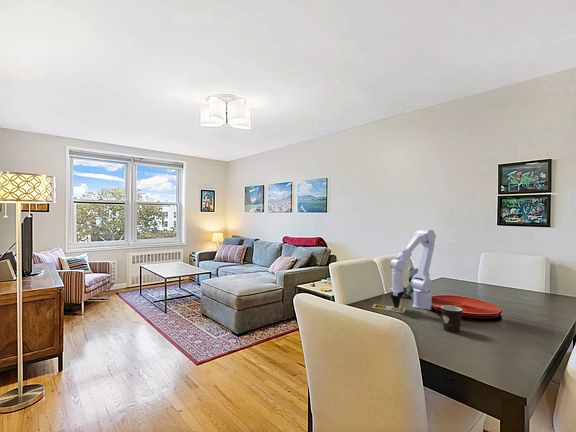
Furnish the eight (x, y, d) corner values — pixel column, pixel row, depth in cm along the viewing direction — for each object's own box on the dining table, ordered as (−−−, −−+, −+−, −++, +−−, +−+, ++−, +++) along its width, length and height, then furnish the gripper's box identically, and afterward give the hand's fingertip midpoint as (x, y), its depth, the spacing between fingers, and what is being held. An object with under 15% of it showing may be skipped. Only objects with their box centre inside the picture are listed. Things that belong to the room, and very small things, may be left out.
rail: (405, 309, 168) (405, 308, 168) (404, 313, 162) (404, 311, 162) (374, 305, 176) (374, 303, 176) (371, 308, 170) (371, 306, 170)
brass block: (401, 309, 168) (401, 297, 168) (400, 311, 164) (400, 298, 164) (394, 308, 170) (394, 296, 169) (392, 310, 166) (392, 297, 166)
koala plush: (395, 296, 196) (395, 265, 196) (415, 293, 203) (416, 264, 203) (417, 303, 180) (417, 270, 180) (438, 300, 188) (438, 268, 188)
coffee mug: (466, 333, 134) (466, 311, 134) (446, 333, 134) (446, 311, 134) (452, 324, 145) (452, 303, 145) (434, 324, 146) (434, 303, 146)
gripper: (392, 277, 175) (392, 301, 175) (387, 282, 162) (387, 308, 162) (405, 279, 172) (405, 303, 172) (401, 284, 159) (401, 310, 159)
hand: (397, 305), depth 167 cm, fingers open, 7 cm apart
